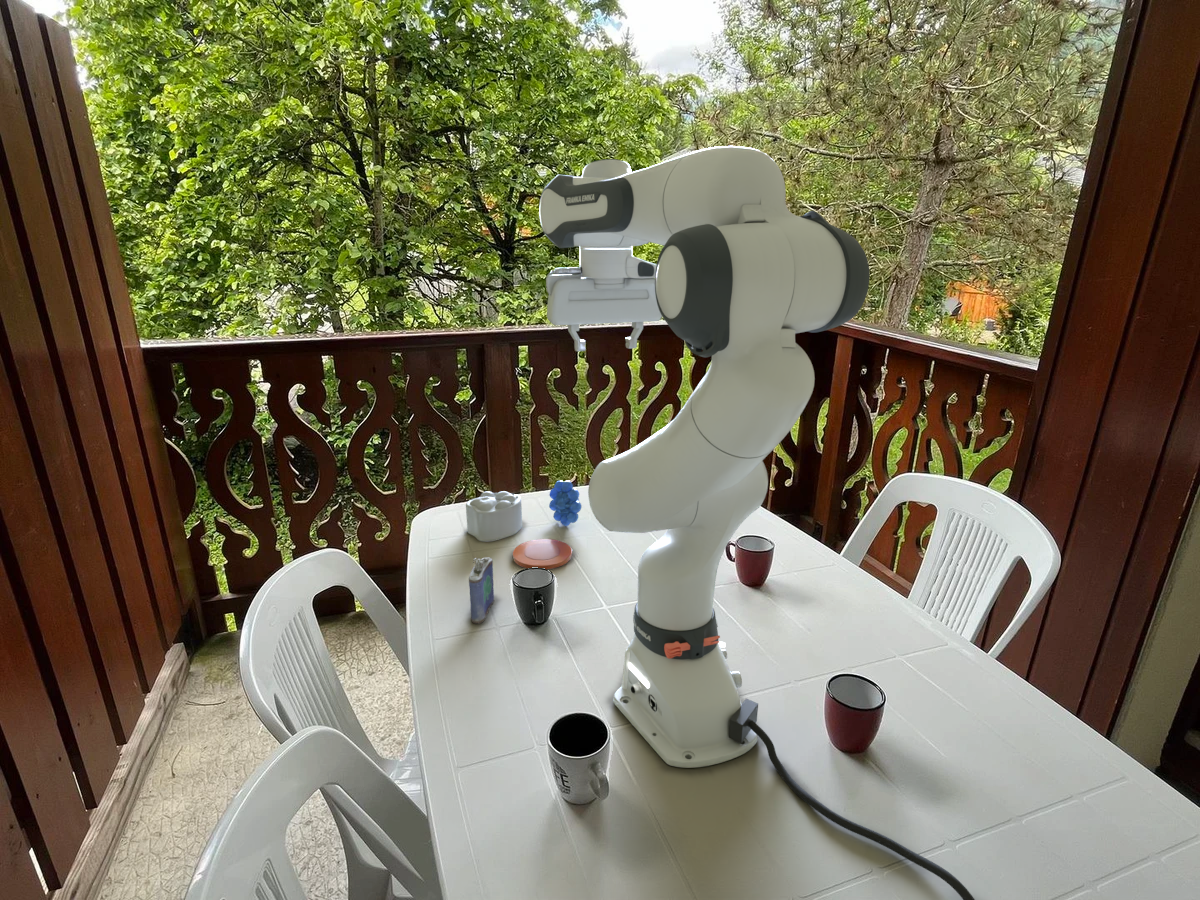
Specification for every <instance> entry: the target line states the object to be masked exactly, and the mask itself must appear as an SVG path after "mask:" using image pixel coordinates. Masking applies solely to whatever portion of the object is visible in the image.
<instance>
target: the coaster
mask: <svg viewBox="0 0 1200 900" xmlns="http://www.w3.org/2000/svg"><path fill="white" fill-rule="evenodd" d="M572 557H573V549H572V548H571V546H570V545H569V544H568V543H566V542H565V541H562V540H559V539H553V538H537V539H531V540H527V541H525V542H521V543H520V544H519V545H517V546H516V547H515V548H514V549H513V550H512V561H514V563H515V564H516V565H518V566H519V567H522V568H524V569H528V568H532V567H538V568H545V569H546V570H552V569H556V568H559V567H562V566H564V565H566V564H567V563H568V562H570V560H571V559H572Z"/></svg>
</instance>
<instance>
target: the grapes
mask: <svg viewBox="0 0 1200 900" xmlns="http://www.w3.org/2000/svg"><path fill="white" fill-rule="evenodd" d="M548 496H549V498H551V500H550V502H549V503H548V507H549V509H550V510H551V511H554V513H553V516H552V517H553V519H554V520H555V521H556V522H560V524H561V525H562V526H563V527H568V526H569V525H571V524H574V523H575V524H576V523H577V522H578V519H579V514H578V513H580V512H581V510H582V503H581V502H580V492H579V490H578V489H576V488H574V484H573V483H572V482H571V480H565V481H563V480H557V481H556V482H555V484H554V487H553V488H551V490H550V491H549V495H548Z"/></svg>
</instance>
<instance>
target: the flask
mask: <svg viewBox="0 0 1200 900" xmlns="http://www.w3.org/2000/svg"><path fill="white" fill-rule="evenodd" d="M472 563H475V565H474V566H473V567H472V568H471V571H470V574H469V576H468V586H469V601H470V619H471V622H472V624H474V625H477V624H479V625H481V624H482V623H483V622H484V621H485V620H486V619H487V618H486V617H487V615H488V614H489V612H490V609H491V606H492V605H494V603H495V591H494V589H495V588H494V561H493V558H491V557H487V556H485V557H482V558H477V557H475V558H473V559H472Z"/></svg>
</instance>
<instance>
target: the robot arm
mask: <svg viewBox="0 0 1200 900" xmlns="http://www.w3.org/2000/svg"><path fill="white" fill-rule="evenodd" d="M786 190H787V189H786V181H785V179H784V175H783V173H782V170H781V169H780V167H779V165H778V164H777V163H776V161H775V160H774V159H773V158H771V156H770V155H768V154H767V153H765V152H763V151H761V150H759V149H755V148H752V147H745V146H736V145H735V146H733V145H728V146H726V145H725V146H714V147H713V146H712V147H708V148H702V149H698V150H695V151H692V152H690V153H689V152H688V153H686V154H683V155H680V156H677V157H674V158H672V159H669V160H665V161H663V162H660V163H657V164H654V165H651V166H649V167H646V168H641V169H639V170H635V171H632V169H631V166H630V164H629V163H628V162H627V161H624V160H621V159H618V158H617V159H616V158H603V159H599V160H594V161H591V162H589V163H587V164H586V165H585V166H584V168H583V170H582V175H581V176H574V175H568V174H567V175H566V174H557V175H556V176H555V177H554V178H552V179H551V180H550V181H549V182H548V183H547V184H546V185H545V187H544V189H543V190H542V192H541V194H540V199H539V206H538V207H539V211H538V212H539V222H540V227H541V229H542V232H543V234H544V235H545V236H546V237H547V239H548V240H549V241H550V242H552V243H553V244H554V245H555V246H556V247H557V248H559V249H563V248H564V249H566V248H567V249H568V248H575V247H579V266H575V267H573V266H572V267H555V268H554V269H553V270H551V271H550V272H549V273H548V274H547V275H546V277H545V288H546V293H548V296H547V297H548V298H547V310H546V317H547V318H546V319H547V321H548V322H550V324H552V325H554V326H567V331H568V333H569V335H570V336H571V338H572V339H573V341H574V351H575V352H585V351H586V350H587V349H586V344H587V343H586V342H587V341H586V340H585V339H581V338H580V336H579V334H578V333H577V332H579V331H580V325H599V324H600V325H601V324H623V323H625V324H626V323H631V328H633V330H632V332H631V334H630V336H627V337H625V348H626V349H637V347H638V339H639V336H640V335H641V333H642V331H643V330H644V323H647V322H649V323H650V322H659V321H660V320H661V319H663V320H664V321H665V323H666V324H667V326H668V327H669V328H670V329H671V331H672V332H673V333H674V334H675V335H676V336H677V337H678V338H680V339H681V340H682V341H684V344H685V346H686V347H687V348H688V350H689V351H690V352H691V353H693V354H694V355H696V356H699V357H702V358H711V361H710V366H709V368H708V369H707V371H706V372H705V374H704V376H703V377H702V379H701V380H700V381H699V383H698V384H697V386H696V387H695V389H694V390H693V392H692V393H691V395H690V396H689V398H688V399H687V400H686V402H685V404H684V405H683V406H682V408H681V409H680V410H679V412H678V413H677V414H676V416H675V417H674V418H673V419H672V420H671V421H670V422H669V423H667V424H666V425H665V426H663V427H662V428H661V429H659V430H658V431H656V432H654V434H652V435H651V436H649V437H647V438H646V439H645V440H643V441H642V442H640V443H638V444H637V445H635V446H634V447H632V448H630V449H628V450H626V451H624V452H622V453H620V454H617V455H615V456H613V457H610V458H608V459H605V460H602V461H601V462H598V464H597V465H596V467H595V469H594V470H593V472H592V474H591V476H590V480H589V482H588V483H589V484H588V489H587V494H588V503H589V506H590V509H591V512H592V514H593V515H594V518H595V519H596V520H597V522H598V523H599V524H600V525H601V526H602V527H603V528H605V529H606V530H607V531H609V532H616V533H630V534H646V533H654V532H659V531H666V532H665V533H664V534H663V535H662V536H660V538H659V539H657V540H656V541H654V542H653V543H652V544H651V545H650V546H649V547H647V548H646V549H645V551H644V552H643V553H642V555H641V557H640V560H639V562H638V566H637V601H636V603H635V605H634V611H633V615H632V616H633V617H632V621H633V633H634V635H633V637H632V639H631V640H630V643H629V644H628V645H627V647H626V650H625V652H624V660H623V667H622V668H623V669H622V679H621V686H620V687H618V689H617V690H616V691H615V692H614V694H613V700H612V701H613V704H614V705H615V706H616V707H617V709H618V710H619V711H620V712H621V713H622V715H623V716H624V717H625V718H626V719H627V721H629V723H630V724H631V725H632V726H633V727H634V729H635V730H636V731H637V732H638V733H639V734H640V735H641V736H642V737H643V739H644V740H645V741H646V742H647V744H649V746H650V747H651V748H652V749H653V750H654V752H656V754H657V755H658V756H659V757H660V758H661V760H663V762H665V764H667V765H668V766H670V767H671V766H672V767H676V768H687V769H688V768H690V769H692V768H694V769H695V768H703V767H709V766H713V765H717V764H721V763H724V762H727V761H731V760H733V759H735V758H738V757H741V756H743V755H744V754H746V753H747V752H749V751H750V750H751V749H753V747H754V746H755V745H756V744H757V742H758V737H759V738H760V740H761V741H762V742H763V744H764V746H765V747H766V750H767V754H768V757H769V760H770V762H771V764H772V766H773V767H774V768H775V770H776V772H777V773H778V774H779V776H780V777H781V779H782V780H783V781H784V782H785V783H786V784H787V786H788V787H789V788H790V789H791V790H792V792H793V793H795V794H796V795H797V797H799V798H800V799H801V800H802V801H804V802H805V803H806V804H807V805H809V806H810V807H812V809H814V810H816V811H817V813H819V814H821V815H822V816H824V817H825V818H826V819H828V820H830V821H831V822H833V823H835V824H836V825H838V826H840V827H842V828H843V829H846V830H848V831H850V832H852V833H855V834H857V835H860V836H861V837H864V838H866V839H868V840H871V841H873V842H876V843H878V844H880V845H881V846H883V847H886V848H888V849H889V850H891V851H893V852H894V853H896V854H898V855H900V856H901V857H903V858H905V859H906V860H908V861H910V862H912V863H913V864H915V865H917V866H919V867H921V868H923V869H925V870H926V871H928V872H930V873H932V874H933V875H935V876H937V877H938V878H940V879H941V880H942V881H944V882H945V883H946V884H948V885H949V886H950V887H951V888H952V889H953V890H954V891H955V892H956V893H957V894H958V896H960V898H961V899H962V900H976V899H975V897H974V896H973V895H972V894H971V892H970V891H969V890H968V888H966V886H965V885H964V884H963V883H962V882H961V881H960V880H959V879H958V878H957V877H956V876H954V875H953V874H952V873H951V872H949V871H948V870H946V869H945V868H944V867H942V866H940V865H939V864H937V863H935V862H933V861H932V860H930V859H928V858H926V857H924V856H922V855H920V854H918V853H916V852H915V851H913V850H911V849H909V848H908V847H905V846H904V845H903V844H900V843H899V842H897V841H895V840H893V839H891V838H890V837H888V836H886V835H883V834H881V833H880V832H877V831H875V830H872V829H870V828H868V827H866V826H863V825H862V824H860V823H856V822H854V821H852V820H849V819H847V818H846V817H844V816H841V815H840V814H838V813H836V812H835V811H833V810H831V809H830V808H829V807H827V806H826V805H824V804H823V803H822V802H820V801H818V800H817V799H816V798H815V797H813V795H811V794H810V793H808V792H807V791H806V790H805V789H803V788H802V787H801V786H800V785H799V784H798V783H797V781H795V780H794V779H793V777H792V776H791V775H790V773H789V772H788V771H787V770H786V768H785V767H784V766H783V763H782V762H781V761H780V759H779V758H778V756H777V752H776V748H775V745H774V743H773V741H772V740H771V738H770V736H769V735H768V734H767V733H766V732H765V730H763V729H762V727H760V726H759V724H758V723H757V721H758V712H759V703H758V702H756V701H753V700H751V699H748V698H745V699H744V700H743V702H742V701H741V695H740V693H739V691H738V689H740V688H742V686H743V679H742V676H741V675H742V674H741V673H740V671H738V670H735V671H731V669H730V667H729V664H728V662H727V660H726V659H728V652H727V649H725V648H726V642H724V641H719V639H721V636H720V635H719V631H718V630H719V629H718V627H719V626H718V620H717V617H716V616H717V615H716V611H715V608H714V599H715V588H716V581H717V573H718V568H719V565H720V562H721V560H722V559H721V558H722V556H723V554H724V552H725V550H726V548H727V546H728V544H729V543H730V540H731V539H732V537H733V536H734V534H735V533H736V531H737V530H738V529H739V527H740V526H741V525H742V523H743V522H744V521H745V520H746V519H747V518H748V517H750V516H751V514H753V513H754V512H755V511H757V510H758V509H759V508H760V507H761V506H762V505H763V503H764V502H765V499H766V497H767V494H768V488H769V475H768V471H767V468H766V465H765V463H764V460H765V459H766V457H768V455H769V454H771V453H772V451H774V450H775V448H776V447H777V446H779V444H780V443H781V442H782V441H783V440H784V439H785V437H786V436H787V435H788V434H789V433H790V431H791V430H792V429H793V427H794V426H795V424H796V423H797V421H798V420H799V418H800V416H801V415H802V414H803V412H804V410H805V409H806V406H807V405H808V403H809V401H810V399H811V397H812V395H813V391H814V388H815V380H816V378H815V370H814V366H813V364H812V361H811V359H810V357H809V356H808V354H807V353H806V351H805V350H804V349H803V348H802V347H801V346H800V345H799V344H798V343H797V342H796V335H797V334H800V333H805V332H808V333H814V334H815V333H820V332H821V333H822V332H825V331H829V330H831V329H835V328H837V327H841V326H842V325H844V324H846V323H848V322H849V321H851V320H853V319H854V317H856V315H857V314H858V313H859V312H860V310H861V308H862V307H863V305H864V303H865V300H866V298H867V295H868V292H869V286H870V274H871V273H870V265H869V261H868V257H867V254H866V252H865V250H864V248H863V246H862V245H861V243H860V242H859V241H858V240H857V239H856V238H854V236H853V235H852V234H850V233H848V232H846V231H845V230H843V229H841V228H839V227H837V226H835V225H832V224H831V223H829V222H828V220H827V219H826V218H825V217H824V216H822V215H821V214H820V213H819V212H817V211H815V210H810V211H808V212H806V213H805V214H803V215H800V216H799V215H796V214H794V213H792V212H791V211H790V210H789V208H788V206H787V203H786V199H787V198H786V195H787V193H786V192H787V191H786ZM649 243H653V244H656V245H660V246H663V247H662V248H661V250H660V252H659V255H658V258H657V262H656V263H653V262H651V261H648V260H644V259H642V258H639V257H636V256H634V255H633V253H634V252H633V251H634V250H633V247H638V246H639V247H640V246H644V245H648V244H649ZM722 648H724V649H722Z"/></svg>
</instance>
